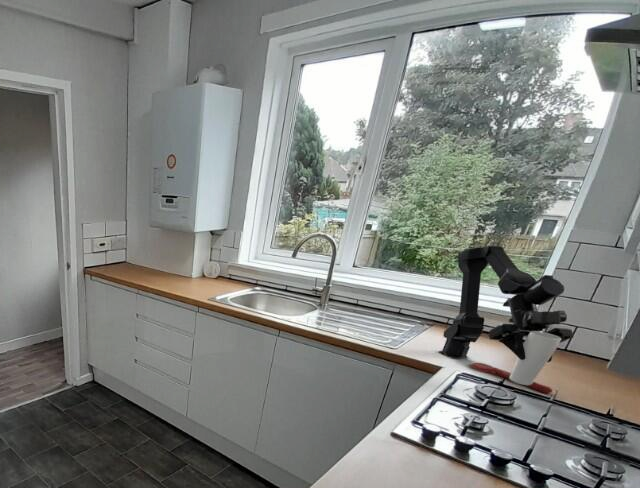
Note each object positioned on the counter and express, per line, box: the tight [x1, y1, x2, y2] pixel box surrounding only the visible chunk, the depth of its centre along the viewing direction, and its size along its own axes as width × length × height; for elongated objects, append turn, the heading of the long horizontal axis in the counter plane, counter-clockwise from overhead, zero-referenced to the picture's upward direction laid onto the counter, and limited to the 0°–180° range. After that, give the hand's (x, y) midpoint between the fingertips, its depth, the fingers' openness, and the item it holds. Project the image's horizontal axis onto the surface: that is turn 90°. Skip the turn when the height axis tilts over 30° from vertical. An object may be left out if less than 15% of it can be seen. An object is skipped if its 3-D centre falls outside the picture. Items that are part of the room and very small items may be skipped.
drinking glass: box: [508, 331, 561, 386], centre depth 118 cm, size 7×7×15 cm
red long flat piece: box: [470, 362, 553, 394], centre depth 132 cm, size 22×6×2 cm, turn 17°
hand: (535, 360), depth 117 cm, fingers closed on drinking glass, 6 cm apart
